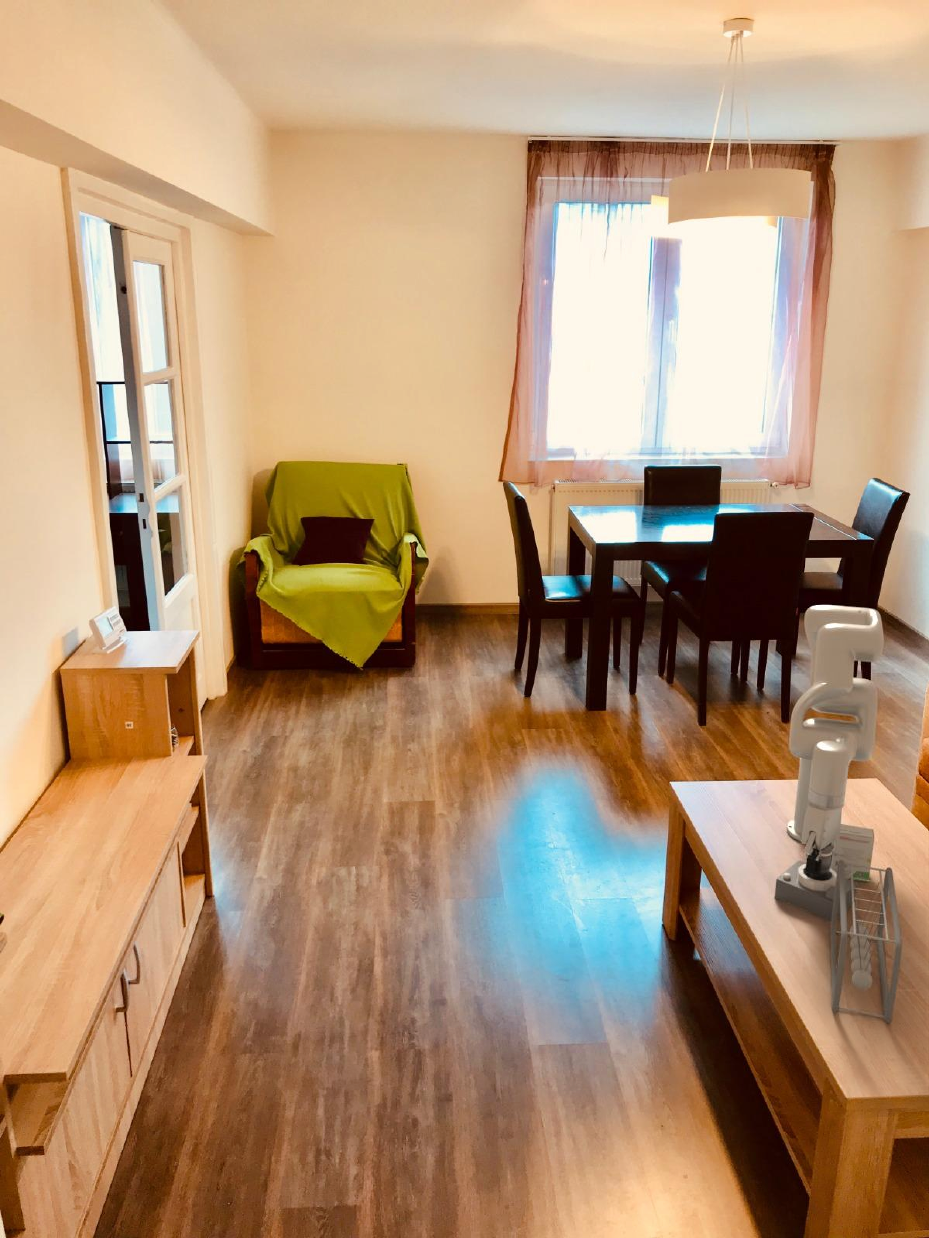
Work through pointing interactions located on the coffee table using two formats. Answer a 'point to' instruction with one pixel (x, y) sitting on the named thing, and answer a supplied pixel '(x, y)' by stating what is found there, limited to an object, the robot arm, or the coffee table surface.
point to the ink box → (854, 851)
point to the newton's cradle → (864, 941)
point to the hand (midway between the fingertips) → (818, 867)
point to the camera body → (810, 891)
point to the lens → (823, 864)
